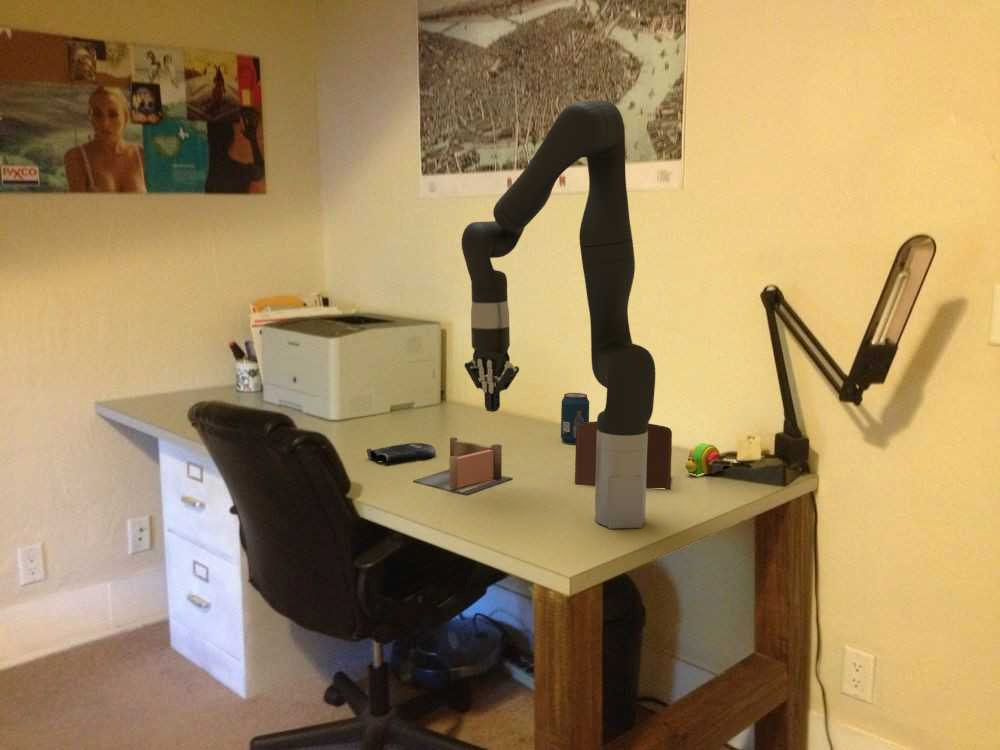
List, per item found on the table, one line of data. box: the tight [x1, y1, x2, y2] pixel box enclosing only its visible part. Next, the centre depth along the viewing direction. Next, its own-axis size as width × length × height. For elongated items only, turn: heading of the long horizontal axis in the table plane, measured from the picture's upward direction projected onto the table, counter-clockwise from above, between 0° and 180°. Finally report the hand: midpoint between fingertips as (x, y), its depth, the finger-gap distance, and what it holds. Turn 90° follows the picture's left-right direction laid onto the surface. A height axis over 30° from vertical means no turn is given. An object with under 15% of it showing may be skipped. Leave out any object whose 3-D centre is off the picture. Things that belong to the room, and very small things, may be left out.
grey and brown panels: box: [413, 437, 514, 496], centre depth 194 cm, size 16×15×8 cm
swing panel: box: [449, 450, 493, 489], centre depth 189 cm, size 12×2×6 cm, turn 134°
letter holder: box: [574, 420, 673, 490], centre depth 194 cm, size 10×20×14 cm, turn 78°
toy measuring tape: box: [685, 442, 722, 475], centre depth 203 cm, size 6×20×7 cm, turn 130°
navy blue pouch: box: [366, 442, 437, 466], centre depth 212 cm, size 9×6×15 cm
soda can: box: [560, 392, 590, 445], centre depth 228 cm, size 7×7×12 cm
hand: (492, 410), depth 182 cm, fingers closed
